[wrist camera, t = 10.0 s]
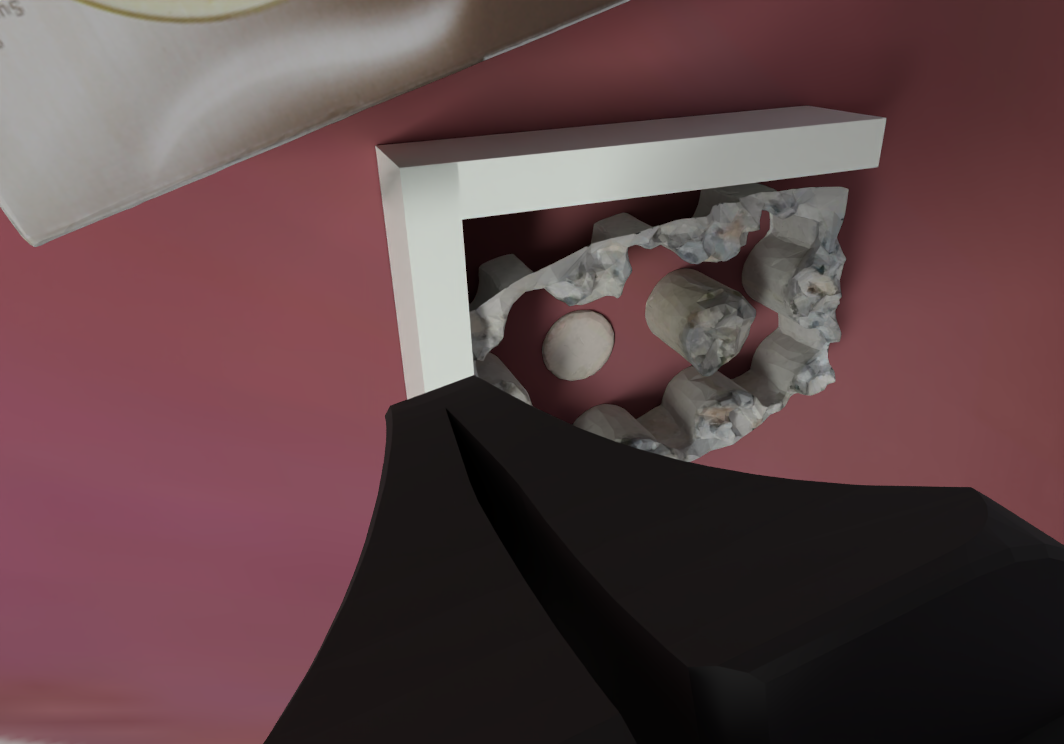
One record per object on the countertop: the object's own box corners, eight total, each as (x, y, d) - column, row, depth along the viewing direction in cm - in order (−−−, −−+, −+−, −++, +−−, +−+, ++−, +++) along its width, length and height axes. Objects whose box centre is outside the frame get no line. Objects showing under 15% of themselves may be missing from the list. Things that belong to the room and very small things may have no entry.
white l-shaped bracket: (807, 105, 21) (886, 117, 18) (748, 579, 29) (798, 634, 26) (375, 145, 17) (399, 167, 15) (441, 674, 25) (465, 747, 23)
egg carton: (484, 479, 23) (528, 562, 19) (424, 250, 19) (466, 303, 16) (779, 371, 25) (866, 429, 22) (776, 149, 22) (880, 176, 18)
